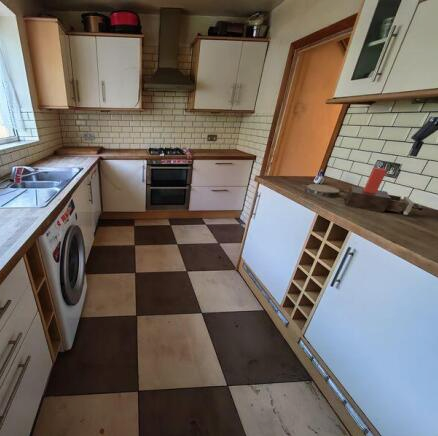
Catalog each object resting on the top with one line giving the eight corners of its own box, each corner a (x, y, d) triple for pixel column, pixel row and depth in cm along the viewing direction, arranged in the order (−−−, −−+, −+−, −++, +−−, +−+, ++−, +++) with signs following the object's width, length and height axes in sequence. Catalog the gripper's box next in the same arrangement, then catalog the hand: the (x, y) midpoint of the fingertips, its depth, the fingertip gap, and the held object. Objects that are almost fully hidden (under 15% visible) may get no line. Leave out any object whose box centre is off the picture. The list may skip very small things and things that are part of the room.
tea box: (374, 191, 119) (385, 168, 114) (375, 193, 116) (387, 170, 110) (363, 189, 121) (373, 167, 116) (364, 191, 118) (374, 168, 113)
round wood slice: (344, 197, 132) (346, 192, 131) (318, 197, 132) (320, 192, 130) (324, 188, 147) (325, 184, 145) (300, 188, 146) (302, 184, 145)
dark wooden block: (379, 204, 123) (386, 191, 119) (383, 212, 113) (391, 198, 110) (345, 198, 131) (351, 185, 127) (346, 205, 121) (352, 191, 117)
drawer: (413, 209, 115) (420, 198, 113) (420, 217, 106) (427, 206, 104) (367, 201, 125) (372, 191, 122) (370, 207, 116) (375, 197, 113)
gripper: (480, 105, 96) (450, 156, 105) (415, 104, 98) (391, 154, 107) (503, 104, 89) (469, 159, 98) (433, 103, 91) (406, 157, 100)
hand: (429, 156), depth 103 cm, fingers open, 13 cm apart
